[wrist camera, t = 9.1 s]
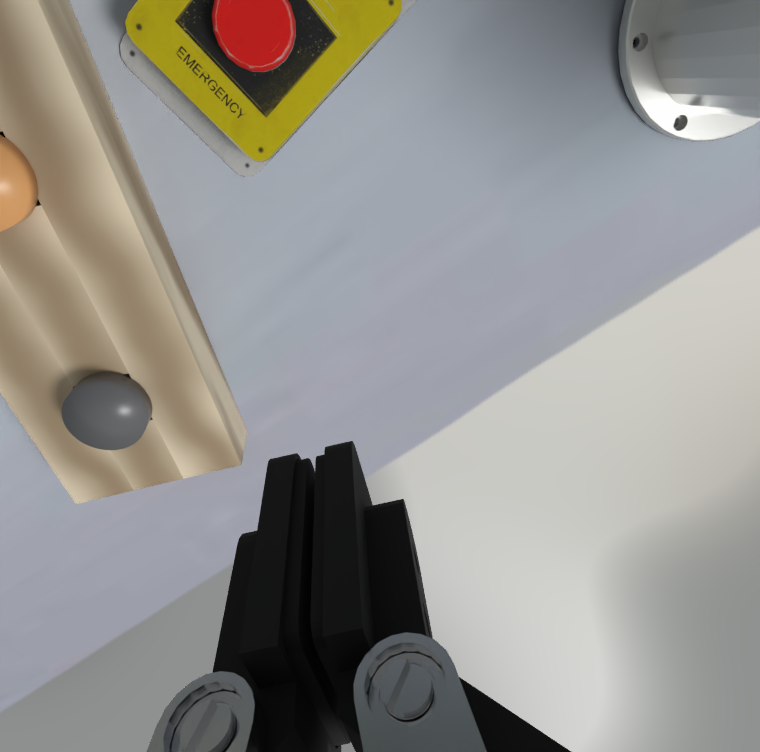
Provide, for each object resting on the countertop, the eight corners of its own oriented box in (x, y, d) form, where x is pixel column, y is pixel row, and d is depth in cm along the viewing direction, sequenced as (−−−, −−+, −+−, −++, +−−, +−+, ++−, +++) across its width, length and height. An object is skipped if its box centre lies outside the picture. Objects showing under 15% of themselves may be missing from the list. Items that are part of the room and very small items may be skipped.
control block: (66, -6, 26) (29, -19, 23) (247, 432, 40) (241, 464, 37) (-165, 49, 26) (-237, 44, 23) (96, 467, 40) (75, 504, 37)
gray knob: (150, 336, 36) (125, 376, 31) (177, 395, 38) (158, 440, 33) (81, 353, 36) (45, 395, 31) (113, 410, 38) (85, 457, 33)
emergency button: (84, 47, 24) (307, -256, 21) (114, 52, 28) (307, -203, 24) (240, 196, 28) (452, -34, 25) (249, 183, 32) (433, -19, 28)
